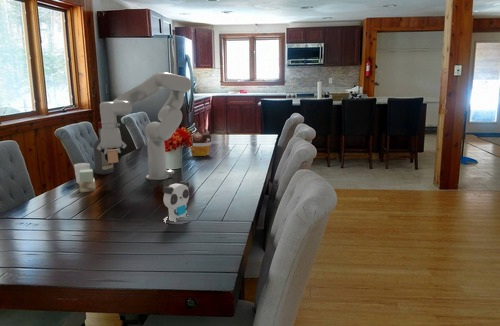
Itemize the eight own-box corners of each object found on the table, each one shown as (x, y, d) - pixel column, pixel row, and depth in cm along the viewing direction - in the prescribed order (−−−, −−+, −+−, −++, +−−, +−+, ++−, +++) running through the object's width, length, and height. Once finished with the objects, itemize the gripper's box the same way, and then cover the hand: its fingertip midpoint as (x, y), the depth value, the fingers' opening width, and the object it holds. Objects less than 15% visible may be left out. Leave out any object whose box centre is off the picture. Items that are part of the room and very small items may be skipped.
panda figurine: (177, 227, 160) (176, 189, 157) (156, 222, 166) (154, 185, 163) (197, 218, 170) (197, 182, 167) (176, 213, 176) (175, 179, 173)
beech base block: (95, 187, 217) (94, 178, 216) (94, 191, 210) (94, 181, 209) (80, 188, 215) (80, 179, 214) (79, 192, 208) (79, 182, 207)
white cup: (85, 184, 222) (84, 166, 220) (72, 183, 224) (71, 165, 222) (94, 181, 230) (92, 163, 228) (81, 180, 231) (79, 162, 229)
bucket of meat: (210, 158, 296) (210, 130, 292) (187, 158, 296) (186, 129, 292) (212, 153, 316) (212, 126, 312) (190, 152, 315) (189, 126, 311)
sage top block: (93, 178, 215) (92, 169, 214) (93, 181, 210) (92, 171, 209) (80, 179, 213) (79, 169, 212) (80, 182, 208) (79, 172, 207)
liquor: (92, 173, 248) (89, 122, 242) (103, 170, 256) (100, 121, 250) (105, 174, 244) (101, 123, 238) (115, 171, 253) (112, 121, 247)
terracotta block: (118, 160, 223) (117, 149, 221) (118, 162, 218) (117, 150, 217) (108, 161, 221) (107, 150, 220) (108, 163, 217) (107, 151, 215)
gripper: (126, 124, 221) (130, 157, 226) (92, 126, 217) (96, 160, 221) (127, 125, 214) (130, 160, 219) (91, 128, 210) (95, 163, 214)
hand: (113, 160), depth 220 cm, fingers closed on terracotta block, 5 cm apart
